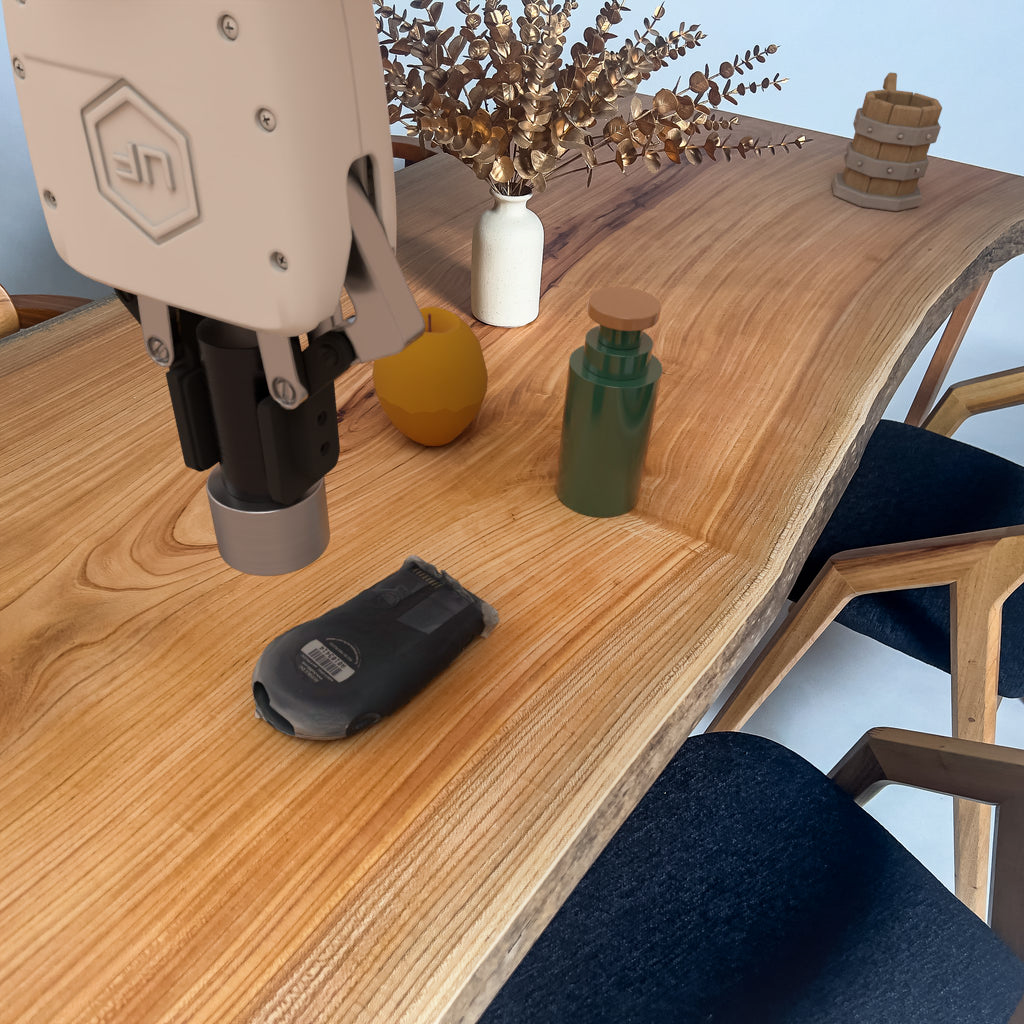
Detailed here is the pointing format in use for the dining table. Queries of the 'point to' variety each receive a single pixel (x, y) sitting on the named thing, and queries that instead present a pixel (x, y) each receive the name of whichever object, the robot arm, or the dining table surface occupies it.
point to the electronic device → (368, 653)
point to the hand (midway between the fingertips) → (263, 463)
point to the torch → (251, 464)
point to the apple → (434, 380)
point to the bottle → (609, 405)
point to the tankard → (889, 149)
